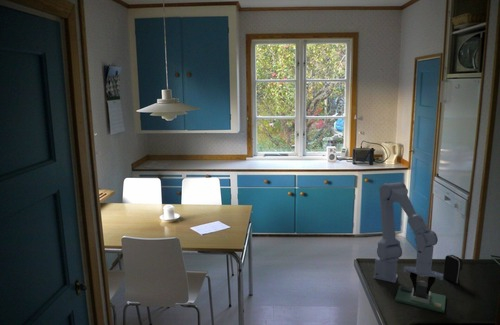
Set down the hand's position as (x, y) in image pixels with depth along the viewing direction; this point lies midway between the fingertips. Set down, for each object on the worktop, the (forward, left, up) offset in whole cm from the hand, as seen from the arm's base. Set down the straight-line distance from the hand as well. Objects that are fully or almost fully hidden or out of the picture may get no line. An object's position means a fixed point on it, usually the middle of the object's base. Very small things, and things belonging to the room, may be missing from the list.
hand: (421, 291), depth 160 cm
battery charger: (+11, +24, -4) cm, 27 cm away
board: (0, 0, -3) cm, 3 cm away
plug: (0, 0, -2) cm, 2 cm away
